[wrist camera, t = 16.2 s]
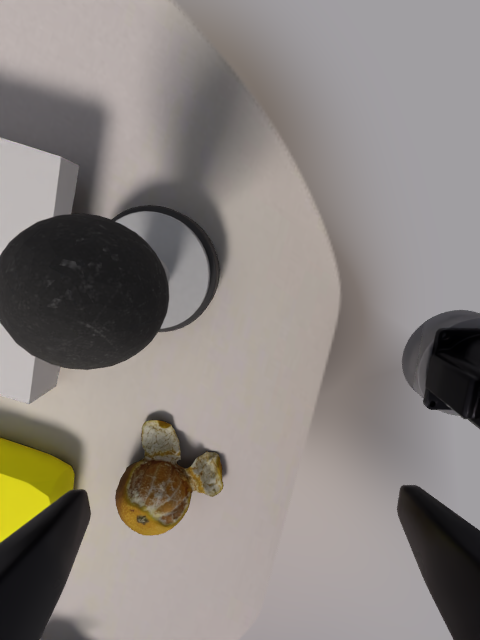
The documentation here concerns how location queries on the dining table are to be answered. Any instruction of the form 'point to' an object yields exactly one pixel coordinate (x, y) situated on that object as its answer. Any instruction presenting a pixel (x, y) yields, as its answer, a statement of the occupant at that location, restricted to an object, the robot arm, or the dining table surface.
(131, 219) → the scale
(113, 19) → the dining table surface
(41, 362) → the food packaging
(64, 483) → the spray bottle
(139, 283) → the light bulb
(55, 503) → the robot arm
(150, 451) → the fruit
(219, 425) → the dining table surface
